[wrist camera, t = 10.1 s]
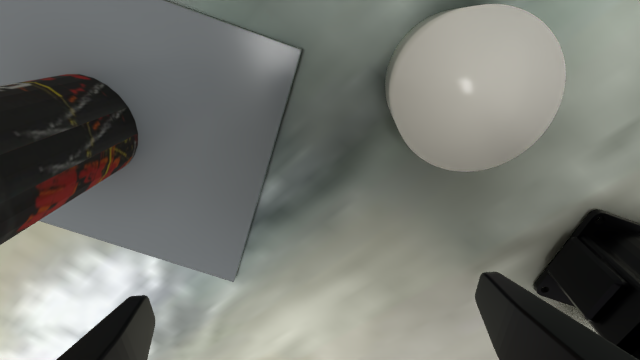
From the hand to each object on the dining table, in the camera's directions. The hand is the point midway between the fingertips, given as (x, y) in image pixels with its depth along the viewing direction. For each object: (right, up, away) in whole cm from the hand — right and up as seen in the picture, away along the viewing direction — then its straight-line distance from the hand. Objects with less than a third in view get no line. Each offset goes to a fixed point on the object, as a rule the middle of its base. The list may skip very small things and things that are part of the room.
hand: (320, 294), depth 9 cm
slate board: (-11, +6, +12) cm, 17 cm away
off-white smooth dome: (+7, +8, +9) cm, 14 cm away
